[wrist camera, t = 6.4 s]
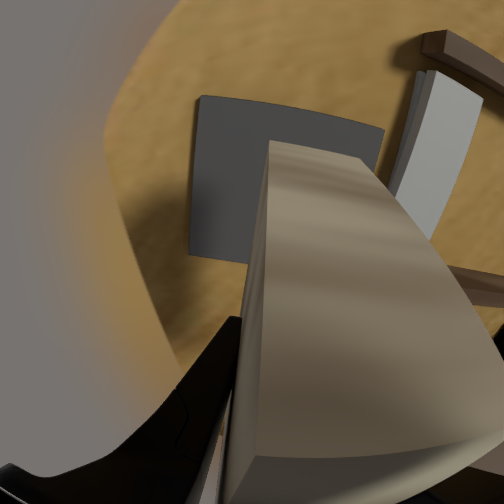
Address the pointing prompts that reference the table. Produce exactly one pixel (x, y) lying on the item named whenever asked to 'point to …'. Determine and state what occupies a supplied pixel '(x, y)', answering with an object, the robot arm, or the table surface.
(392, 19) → the table surface
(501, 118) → the table surface
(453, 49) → the frame
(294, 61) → the table surface
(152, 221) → the table surface
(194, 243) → the mat
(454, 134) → the offcut top
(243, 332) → the pale wooden block
